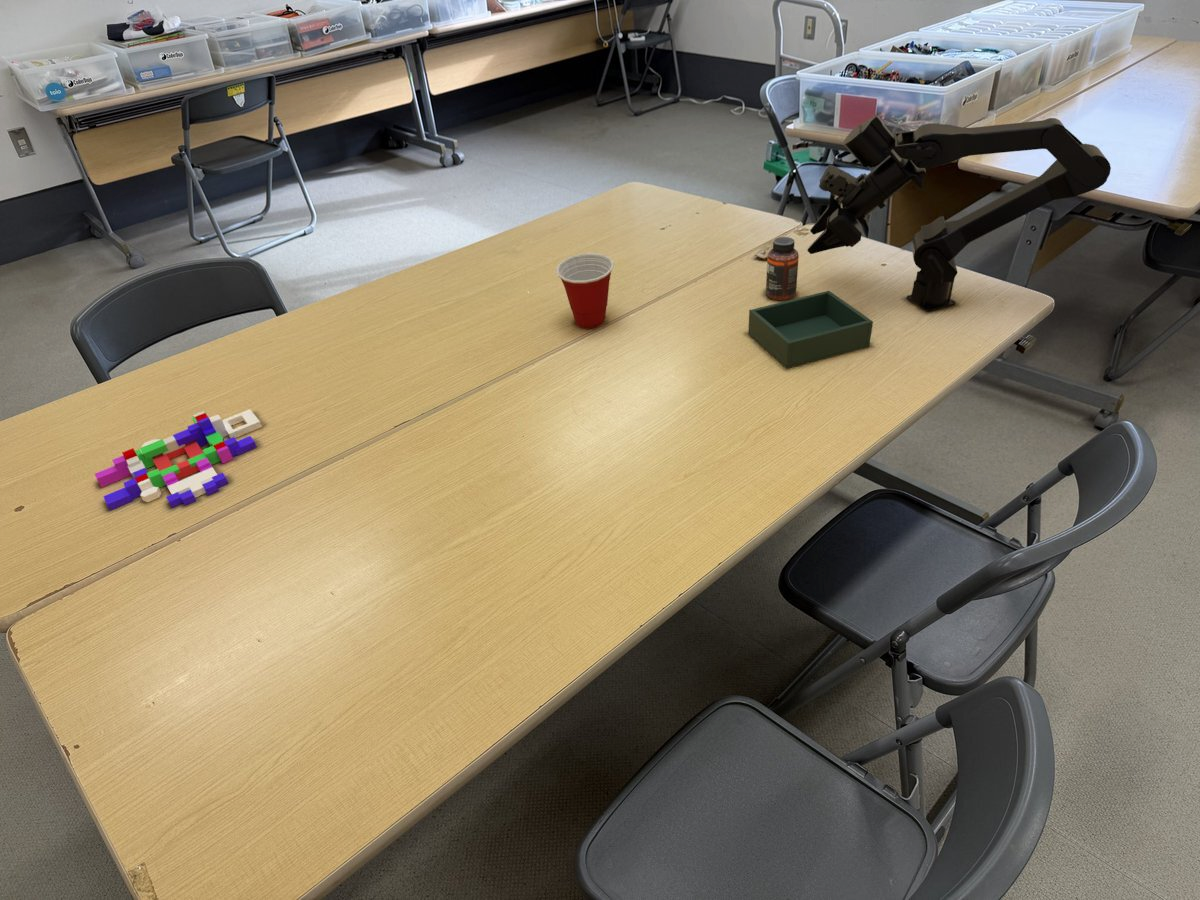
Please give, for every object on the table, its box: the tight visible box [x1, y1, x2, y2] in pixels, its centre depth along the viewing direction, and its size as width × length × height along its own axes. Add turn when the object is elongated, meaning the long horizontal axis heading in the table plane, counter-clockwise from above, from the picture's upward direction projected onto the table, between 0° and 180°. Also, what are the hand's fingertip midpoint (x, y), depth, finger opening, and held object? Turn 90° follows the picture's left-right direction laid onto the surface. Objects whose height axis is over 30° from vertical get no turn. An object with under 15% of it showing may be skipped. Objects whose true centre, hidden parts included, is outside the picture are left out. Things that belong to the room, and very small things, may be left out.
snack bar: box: [754, 240, 774, 260], centre depth 172 cm, size 10×2×3 cm
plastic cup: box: [555, 252, 615, 330], centre depth 149 cm, size 11×11×12 cm
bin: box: [747, 290, 874, 369], centre depth 140 cm, size 17×14×5 cm
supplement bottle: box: [765, 236, 800, 301], centre depth 153 cm, size 6×6×11 cm
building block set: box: [94, 408, 263, 511], centre depth 124 cm, size 25×20×4 cm
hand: (810, 242), depth 148 cm, fingers open, 9 cm apart
